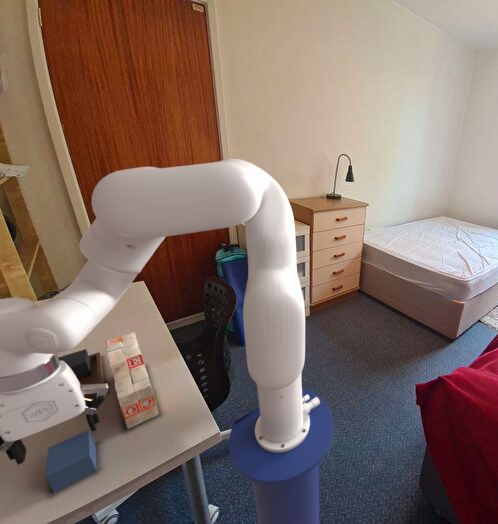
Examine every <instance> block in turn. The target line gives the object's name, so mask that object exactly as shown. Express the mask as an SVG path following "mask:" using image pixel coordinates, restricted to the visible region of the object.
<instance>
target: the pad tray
mask: <svg viewBox="0 0 498 524" xmlns="http://www.w3.org/2000/svg"><path fill="white" fill-rule="evenodd" d="M88 355H89V358H90V360H91V375H90V376H87V377H84V378H82V379H79V380H78V381H79V383H80V384H81V385H87V384H105V379H104V369H103V361H102V355H101V353H100V352H95V353H92V354H88ZM97 394H98V393H92V394H84V395H85V396H84V398H87V399H91V400H93V399H94V397H95V396H96V395H97Z"/></svg>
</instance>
